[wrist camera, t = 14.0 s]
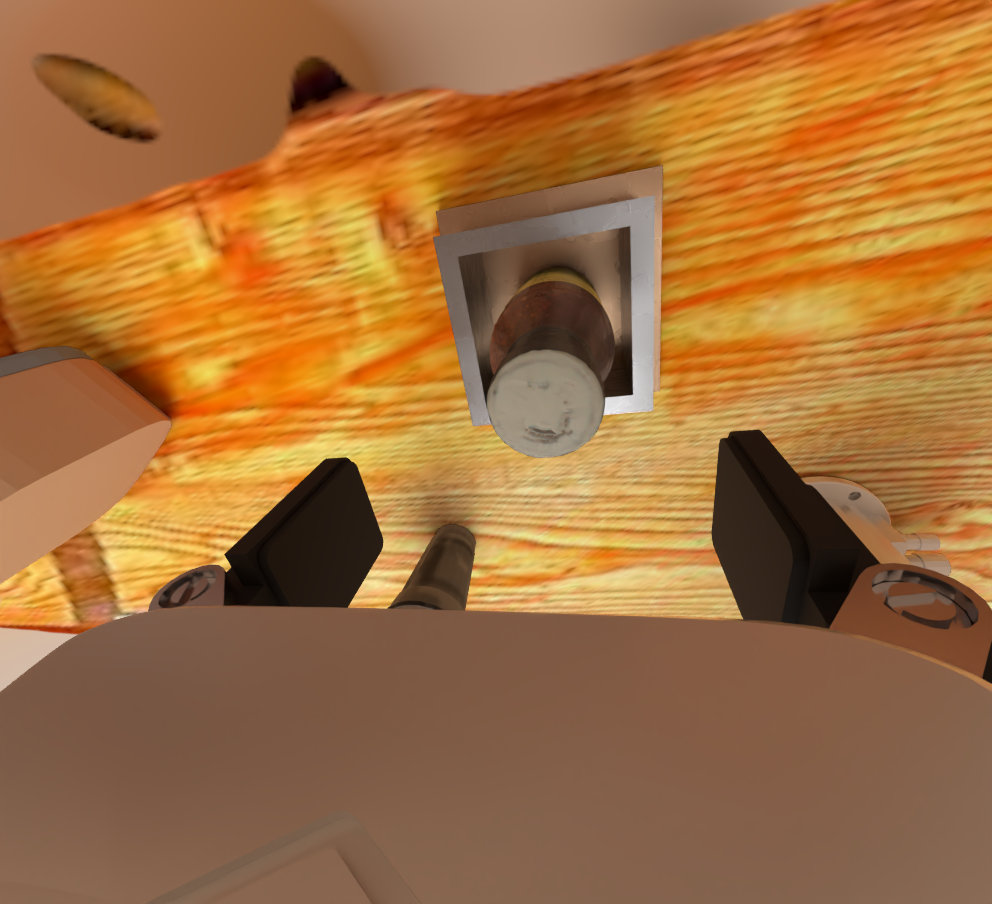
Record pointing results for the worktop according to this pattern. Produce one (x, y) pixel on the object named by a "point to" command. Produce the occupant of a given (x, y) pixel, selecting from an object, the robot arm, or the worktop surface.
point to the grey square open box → (569, 244)
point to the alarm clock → (65, 448)
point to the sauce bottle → (550, 364)
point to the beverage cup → (441, 573)
